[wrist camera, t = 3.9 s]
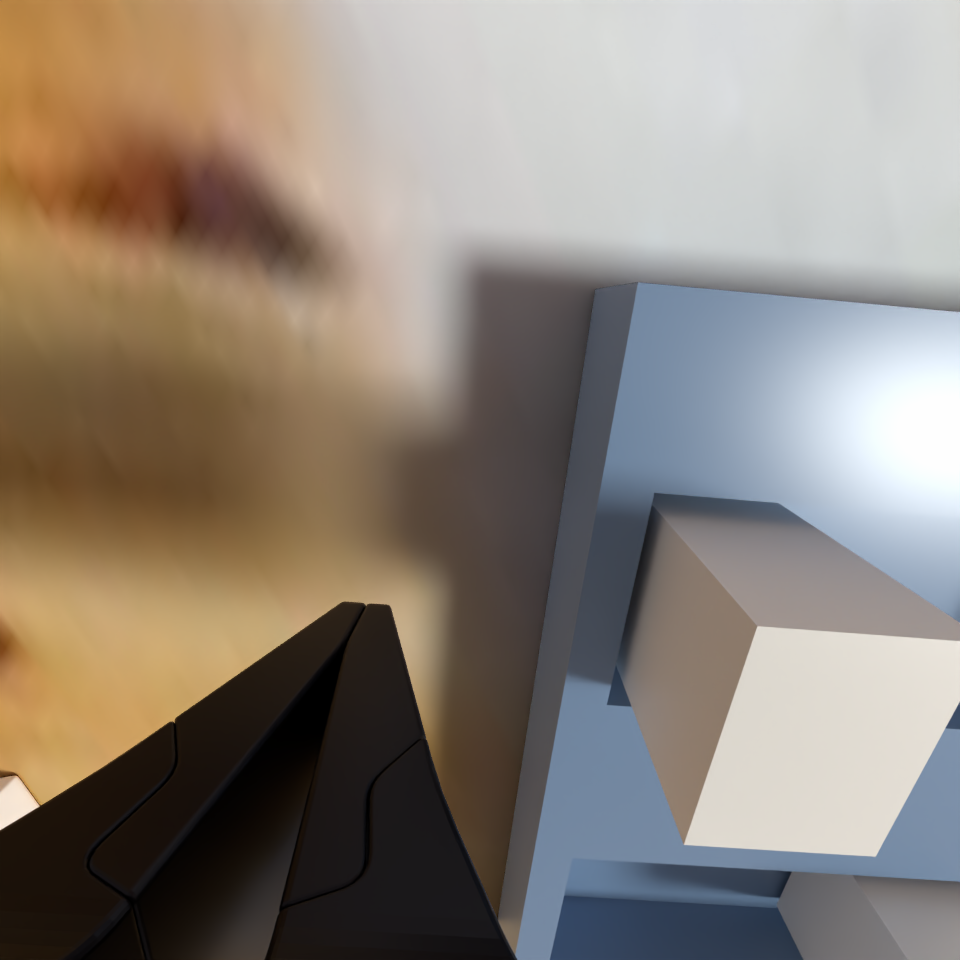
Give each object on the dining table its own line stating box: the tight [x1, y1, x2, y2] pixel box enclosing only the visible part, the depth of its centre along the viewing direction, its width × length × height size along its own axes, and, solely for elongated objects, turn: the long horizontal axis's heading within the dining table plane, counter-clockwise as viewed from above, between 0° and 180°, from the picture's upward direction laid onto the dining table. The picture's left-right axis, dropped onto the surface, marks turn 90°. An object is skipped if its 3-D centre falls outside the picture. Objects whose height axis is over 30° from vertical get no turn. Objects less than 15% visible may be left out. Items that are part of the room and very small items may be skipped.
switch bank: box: [498, 282, 960, 960], centre depth 13 cm, size 13×22×3 cm, turn 175°
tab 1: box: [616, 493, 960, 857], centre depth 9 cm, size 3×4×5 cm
